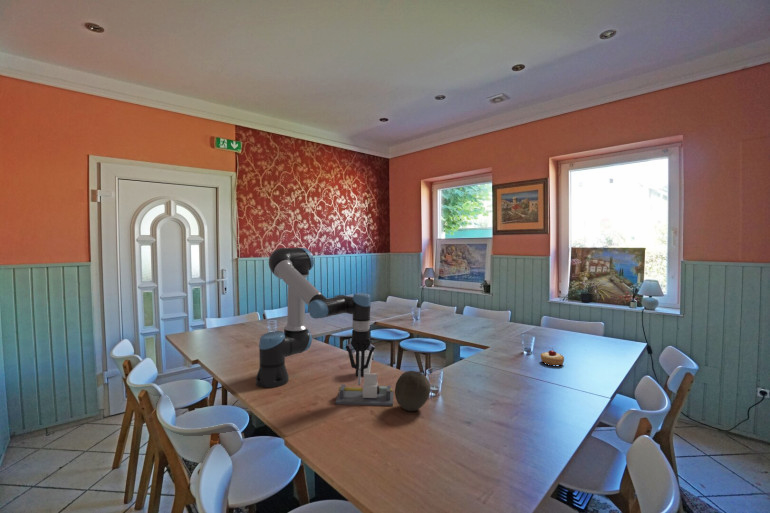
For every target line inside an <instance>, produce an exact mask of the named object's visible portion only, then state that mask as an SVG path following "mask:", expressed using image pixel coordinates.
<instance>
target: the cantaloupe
mask: <svg viewBox="0 0 770 513" xmlns="http://www.w3.org/2000/svg"><path fill="white" fill-rule="evenodd" d="M430 394H431V384H430V381H429V380H428V378H427V377H426V375H424V373H422V372H419V371H416V370H408V371H404V372H403V373H401V375H400V376H399V377H398V378H397V381H396V383H395V387H394V396H395V399H396V401H397V404H398V405H399V406H400V407H401V408H402V409H404V410H405V411H408V412H414V411H417V410H420V408H423V406H424V405H425V404H426V403H427V401H428V399H429V397H430Z"/></svg>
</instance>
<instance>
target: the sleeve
mask: <svg viewBox="0 0 770 513" xmlns="http://www.w3.org/2000/svg"><path fill="white" fill-rule="evenodd" d="M377 386H379V383H378V373H371V372H370V373H364V376H363V384H362V388H363V398H377V395H378V394H377Z"/></svg>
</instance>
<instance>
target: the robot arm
mask: <svg viewBox="0 0 770 513" xmlns="http://www.w3.org/2000/svg"><path fill="white" fill-rule="evenodd" d="M314 265H315V260H314V255H313V253H312V252H311V251H310V250H309V249H307V248H304V247H281V248H277V249H275V250H274V251H273V252H272V253H270V256H269V258H268V266H269V270H270V271H271V273H272V274H273V275H274V276H275V277H276V278H278V279H279V278H280V279H281V280H282V281H283V282H284V283H285V284H286V285H287V314H286V315H287V320H286V321H287V322H286V325H285V326H284V327H283V331H281V330H275V331H269V332H266V333H264V334H263V335H261V336H260V337H259V345H258V348H259V352H258V354H259V355H258V356H259V366H258V367H259V368H258V371H257V375H256V377H255V386H257V387H259V388H264V389H265V388H276V387H280V386H283V385H285V384H287V383H288V382H289V373H288V371H287V366H286V363H285V362H286V358H287V357H290V356H294V355H297V354H302V353H304V352H306V351H308V350H309V349H310V347H311V345H312V341H313V337H312V336H313V335H312V334H311V330H309V328H308V326H307V325H306V324H305V322H306V321H305V319H306V318H305V317H306V314H305V313H306V305H307V306H308V307H307V311H308V314H309V316H310V317H311V318H313V319H323V318H327V317H331V316H337V315H342V314H348V315H352V322H351V323H352V325H351V328H352V332H351V341H350V343H348V344H346V345H345V349H346V350H347V353H348V358H349V360H350V361H349V362H350V365H351V368H352V369H355V377H357V385H358V386H361V384H362V378H364V376H363V375H364V369H365V368H368V365H369V361H370V358H371V355H372V352H373V353H374V351H375V348H376V345H373V344H372V343H371V340H370V337H371V335H370V332H371V331H370V329H371V328H370V327H371V306H372V305H371V304H372V303H371V300H372V299H371V295H370V294H369V293H363V292H357V293H354V294H353V295H352V296H349V295H344V294H337V295H334V296H333V297H328V298H327V297H326V296H324V295H323V294H322V293H321V292H320V291H319V290H318V288H316V287H315V286H314V285H313V284H312V283H311V282H310V281H309V280H308V279H307V277H308V276H309V274H310V272H309V271H311V270H312V269H313V268H314ZM352 348H353V350H354V352H356V359H355V356H354V354H353V353H354V352H353V350H352ZM368 348H369V351H370V352H369V355H368V358H367V362H366V365H364V359H365V351H366V350H368ZM359 351H361V368H359Z"/></svg>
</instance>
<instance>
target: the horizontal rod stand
mask: <svg viewBox="0 0 770 513" xmlns="http://www.w3.org/2000/svg"><path fill="white" fill-rule="evenodd" d="M338 391H339V393H338V394H337V397H336V401H335V403H334V404H335V405H350V406H351V405H353V406H380V407H381V406H383V407H385V406H387V407H393V406H394V396H395V390H394V391H393V388H392V386H391V385H378V386H377V394H378V395H377V398H363V387H349V386H348V387H346V384H341V386H340V387H338Z"/></svg>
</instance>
